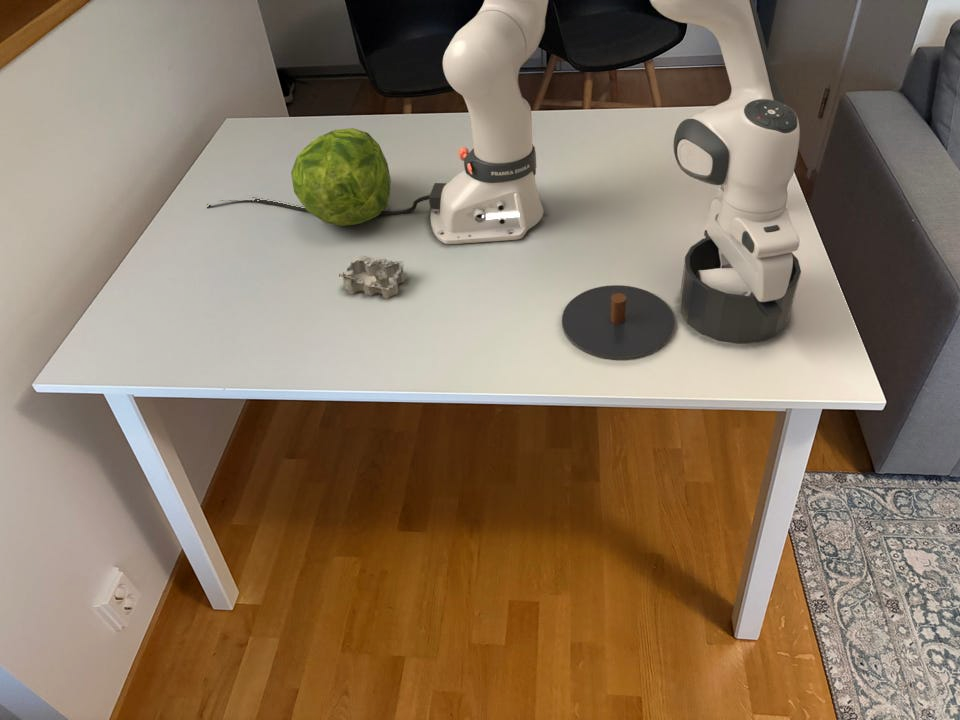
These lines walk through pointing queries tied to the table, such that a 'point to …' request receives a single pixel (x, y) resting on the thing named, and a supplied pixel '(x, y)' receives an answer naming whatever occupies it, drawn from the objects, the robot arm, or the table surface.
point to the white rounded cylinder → (723, 280)
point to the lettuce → (342, 177)
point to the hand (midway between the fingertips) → (737, 288)
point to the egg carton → (373, 276)
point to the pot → (730, 302)
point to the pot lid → (618, 322)
